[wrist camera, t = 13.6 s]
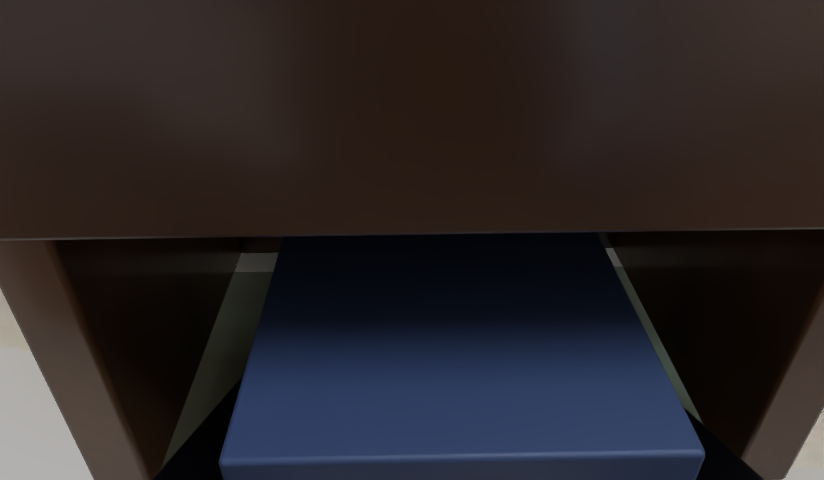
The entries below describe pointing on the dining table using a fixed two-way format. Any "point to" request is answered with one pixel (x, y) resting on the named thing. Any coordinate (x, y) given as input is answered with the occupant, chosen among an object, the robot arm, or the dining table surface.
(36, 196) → the cabinet
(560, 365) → the block
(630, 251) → the drawer
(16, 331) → the dining table surface
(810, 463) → the dining table surface
